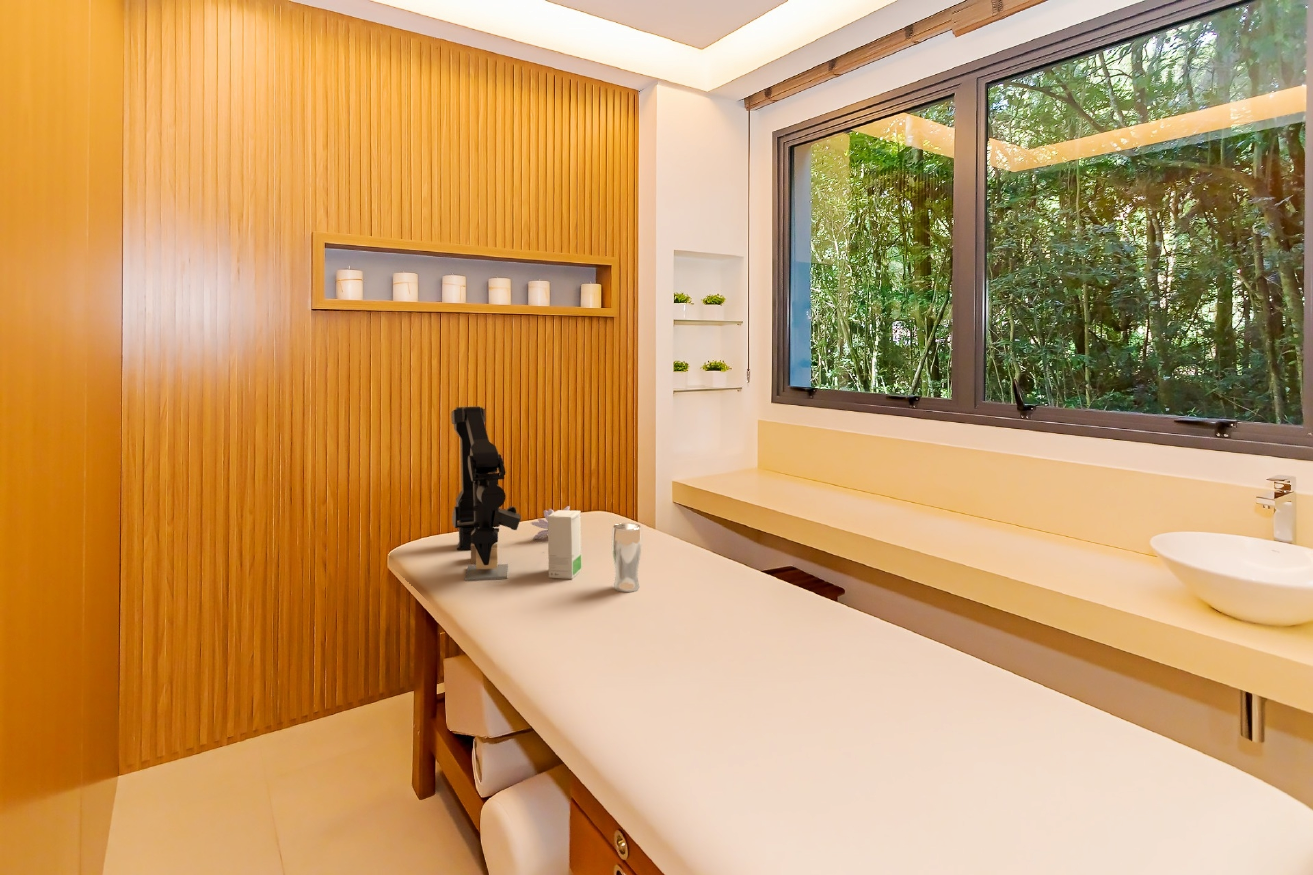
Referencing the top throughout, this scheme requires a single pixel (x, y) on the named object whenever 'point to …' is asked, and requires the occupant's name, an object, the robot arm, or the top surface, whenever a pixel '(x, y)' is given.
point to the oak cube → (492, 561)
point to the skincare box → (564, 544)
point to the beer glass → (626, 555)
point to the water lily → (544, 523)
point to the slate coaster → (486, 573)
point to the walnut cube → (473, 554)
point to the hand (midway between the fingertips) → (486, 561)
